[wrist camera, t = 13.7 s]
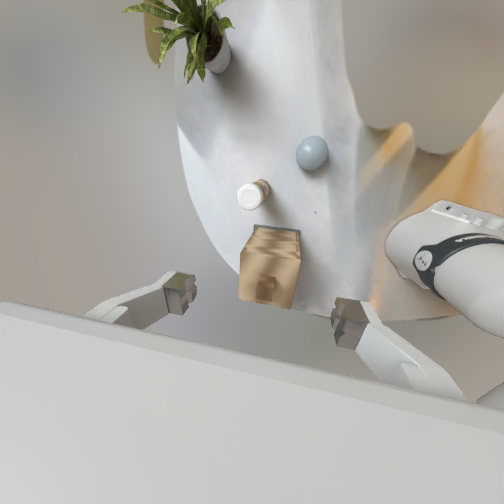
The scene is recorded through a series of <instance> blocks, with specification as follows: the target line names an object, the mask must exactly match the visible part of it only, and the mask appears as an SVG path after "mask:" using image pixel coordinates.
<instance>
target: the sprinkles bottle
mask: <svg viewBox="0 0 504 504" xmlns="http://www.w3.org/2000/svg"><path fill="white" fill-rule="evenodd" d="M269 194H270V185H269V183H268V182H267V181H265V180H262V179H261V180H257V181H255V182H253V183H249V184H246V185H244V186H242V187H241V188H240V189H239V191H238V194H237V199H238V203H239V204H240V206H241V207H242V208H244V209H246V210H254V209H256V208H258V207H259V206H260V205H261V203H262V201H264V200H265V198H266V197H267V196H268V195H269Z"/></svg>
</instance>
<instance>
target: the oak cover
mask: <svg viewBox="0 0 504 504" xmlns="http://www.w3.org/2000/svg"><path fill="white" fill-rule="evenodd" d="M300 264H301V256H300V243H299V232H291V231H284V230H276V229H268V228H261V227H256V228H255V230H254V232H253V233H252V235H251V236H250V238H249V240H248V241H247V243H246V245H245V246H244V248H243V250H242V251H241V253H240V276H239V278H240V279H239V299H241V300H246V301H251V302H256V303H261V304H267V305H271V306H277V307H282V308H287V309H291V306H292V301H293V297H294V292H295V288H296V283H297V278H298V274H299V269H300Z"/></svg>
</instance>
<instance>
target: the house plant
mask: <svg viewBox="0 0 504 504" xmlns="http://www.w3.org/2000/svg"><path fill="white" fill-rule="evenodd" d="M147 1H150V2H153V3H154V4H156V5H158V6H160V7H161V8H163V9H165V10H167V11H169V12H171V13H173V14H171V13H168V12H166V11H163V10H161V9H159V8H156V7H154V6H151V5H147V4H143V3H141V4H136V5H134V6H131V7H128V8H126V9H125V10H124V11H123V12H145V13H149V14H152V15H155V16H157V17H160V18H162V19H165V20H171V21H174V22H175V25H177V23H179V24H182V25H184V26H180V27H178V28H175V29H173V30H171V29H168V28H165V27H158V28H153V29H151V30H150V32H157V33H161V34H165V37H164V38H163V40H162V43H161V49H160V55H159V68H160V65H161V62H162V60H163V58H164V57H165V53H166V51H167V50H168V49H170V48H171V47H172V45H173V44H174V43H175V41H176V40H178V39H181V38H184V41H185V45H186V48H187V51H188V54H187V61H186V66H185V70H184V77H185V75H186V72H187V70H189V74H188V80H187V85H188V83H189V81H190V80H191V78H192V77H193V74H194V72H195V70H196V69H197V71H198V74H199V76H200V78H201V80H202V81H203V80H204V77H205V68H207V69H209V70H210V71H212V72H214V73H218V74H219V73H222V72H224V71H225V70H226V69H227V67H228V65H229V62H230V56H231V54H230V48H229V44H228V40H227V37H226V33H225V29H226V28H229V27H233V26H232V23H231V21H230V19H229V18H227V17H223V18H222V19H221V16H220V15H219V13H218V11H217V10H216V9H215V7H216V6H217V5H219V4H221V3H222V2H223V1H224V0H208V3H206V0H201V3H200V4H197V2H196V0H172V1H173V2H174V3H175V4H176V6H177V7H178V8H179V10H180V11H181V12H180V13H179V12H177V11H176V10H174V9H172V8H170V7H168V6H167V5H165V4H163V3H162V2H160V1H158V0H147ZM233 28H234V27H233ZM234 29H235V28H234Z"/></svg>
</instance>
